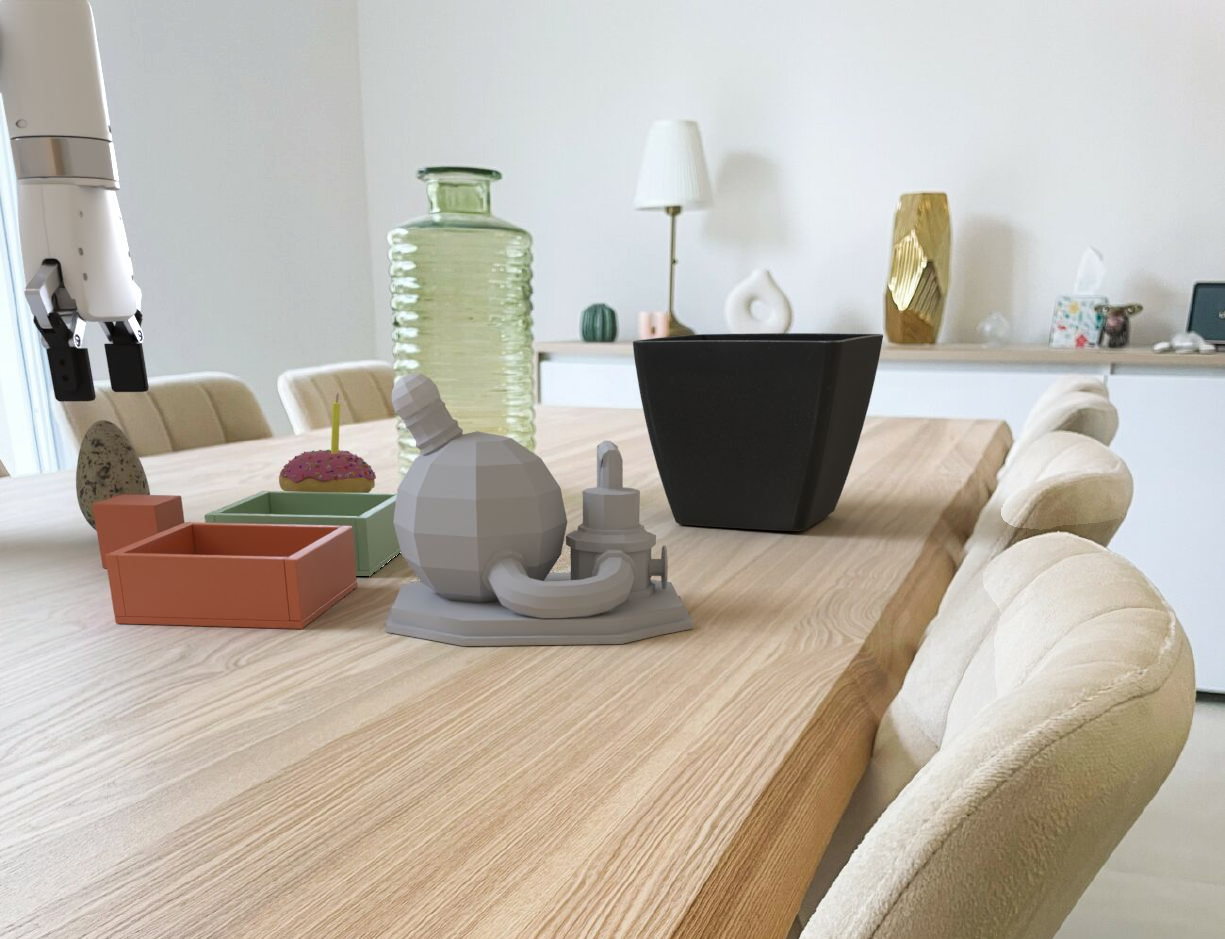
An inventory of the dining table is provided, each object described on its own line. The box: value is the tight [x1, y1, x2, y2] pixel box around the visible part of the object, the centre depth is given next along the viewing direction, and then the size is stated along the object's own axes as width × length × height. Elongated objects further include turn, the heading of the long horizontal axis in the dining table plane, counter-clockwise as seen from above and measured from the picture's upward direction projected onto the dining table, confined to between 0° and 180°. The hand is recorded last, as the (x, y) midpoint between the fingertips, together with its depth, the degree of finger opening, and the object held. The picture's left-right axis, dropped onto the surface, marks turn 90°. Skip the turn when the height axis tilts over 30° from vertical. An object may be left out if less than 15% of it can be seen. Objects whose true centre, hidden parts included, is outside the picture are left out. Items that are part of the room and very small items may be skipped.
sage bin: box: [203, 490, 401, 577], centre depth 99 cm, size 13×13×4 cm
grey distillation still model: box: [385, 372, 694, 647], centre depth 80 cm, size 20×15×15 cm
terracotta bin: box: [105, 521, 358, 630], centre depth 85 cm, size 13×13×4 cm
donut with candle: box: [278, 392, 377, 493], centre depth 111 cm, size 9×8×12 cm
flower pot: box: [632, 332, 884, 532], centre depth 116 cm, size 19×19×17 cm
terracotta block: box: [93, 494, 186, 569], centre depth 97 cm, size 5×5×5 cm
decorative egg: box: [75, 419, 151, 532], centre depth 106 cm, size 6×6×10 cm
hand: (104, 396), depth 104 cm, fingers open, 9 cm apart
